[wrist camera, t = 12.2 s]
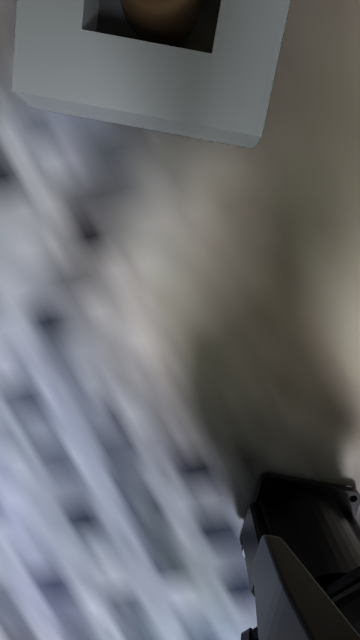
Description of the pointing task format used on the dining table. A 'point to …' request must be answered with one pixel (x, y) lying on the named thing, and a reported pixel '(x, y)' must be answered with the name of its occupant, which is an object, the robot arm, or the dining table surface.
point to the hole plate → (151, 70)
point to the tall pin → (162, 18)
